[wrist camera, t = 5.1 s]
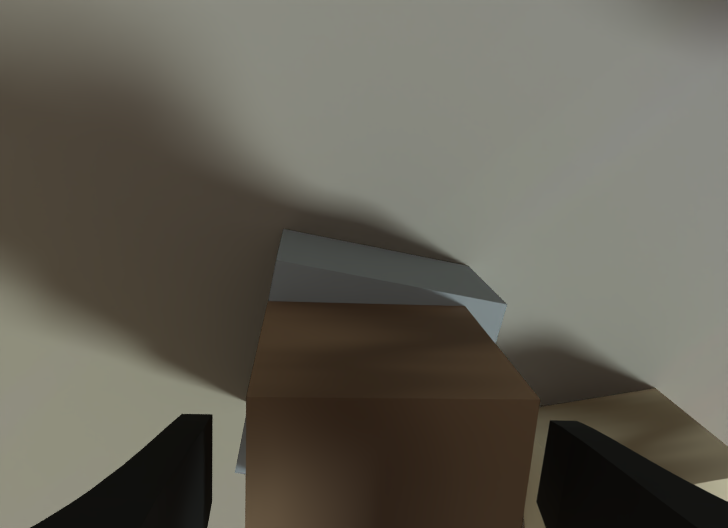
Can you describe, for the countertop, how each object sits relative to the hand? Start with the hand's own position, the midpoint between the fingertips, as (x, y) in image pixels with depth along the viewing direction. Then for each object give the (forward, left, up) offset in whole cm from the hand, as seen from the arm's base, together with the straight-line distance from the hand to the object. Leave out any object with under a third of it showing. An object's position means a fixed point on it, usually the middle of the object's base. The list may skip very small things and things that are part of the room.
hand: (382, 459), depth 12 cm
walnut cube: (0, 0, -3) cm, 3 cm away
